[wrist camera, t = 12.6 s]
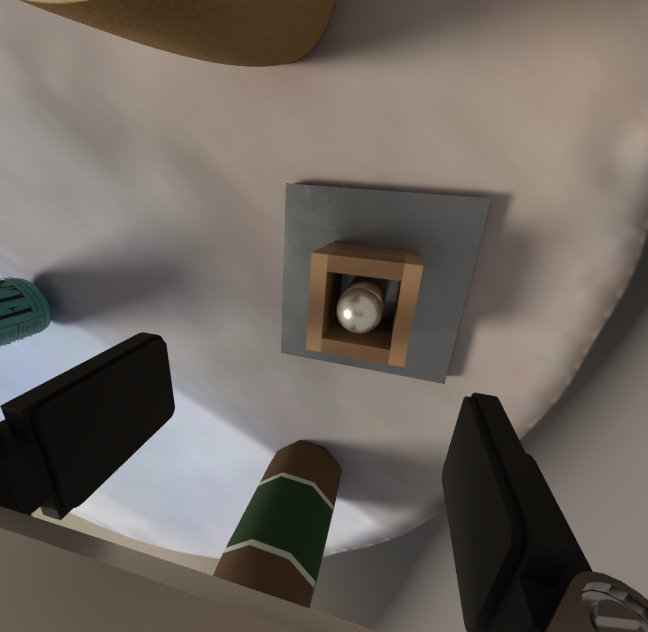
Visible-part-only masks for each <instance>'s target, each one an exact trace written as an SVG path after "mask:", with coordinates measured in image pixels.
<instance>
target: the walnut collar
mask: <svg viewBox="0 0 648 632" xmlns="http://www.w3.org/2000/svg"><path fill="white" fill-rule="evenodd" d="M422 271H423V263H422V259H421V256H420V252H419V251H409V250H400V249H390V248H381V247H372V246H362V245H353V244H344V243H334V242H331V243H329V244H328V245H326V246H324V247H322V248H320V249H318V250H316V251H314V252H312V253H311V271H310V288H309V306H308V323H307V341H306V349H307V350H312V351H318V352H323V353H329V354H334V355H339V356H345V357H350V358H356V359H361V360H367V361H372V362H378V363H383V364H389V365H394V366H400V367H404V365H405V360H406V355H407V349H408V344H409V339H410V334H411V328H412V323H413V318H414V313H415V307H416V302H417V297H418V292H419V286H420V281H421V276H422ZM342 274H350V275H358V276H366V277H374V278H382V279H389V280H397V281H400V283H399V289H398V295H397V301H396V307H395V313H394V320H392V319H386V318H381V320H380V322H379V324H378V325H377V326H376V327H375V328H374V329H373V330H371V331H369V332H366V333H353V332H350V331H348V330H347V329H345V328H344V327H343V326H342V325H341V323H340V322H339V320H338V317H337V304H338V301H339V299H340V290H341V280H342Z"/></svg>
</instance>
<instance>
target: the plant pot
mask: <svg viewBox="0 0 648 632" xmlns="http://www.w3.org/2000/svg"><path fill="white" fill-rule="evenodd" d="M20 1H23V2H26V3H28V4H31V5H33V6H36V7H38V8H41V9H43V10H46V11H48V12H51V13H54V14H57V15H60V16H63V17H65V18H68V19H71V20H74V21H77V22H79V23H82V24H85V25H88V26H91V27H94V28H96V29H99V30H102V31H105V32H108V33H111V34H114V35H117V36H120V37H122V38H125V39H128V40H131V41H134V42H137V43H140V44H143V45H146V46H150V47H153V48H156V49H160V50H164V51H167V52H171V53H174V54H178V55H182V56H186V57H191V58H195V59H199V60H204V61H209V62H214V63H220V64H227V65H236V66H250V67H265V66H276V65H282V64H287V63H291V62H294V61H296V60H298V59H300V58H301V57H303V56H304V55H306V54H307V53H308V52H309V51H310V50H311V49H312V48H313V47H314V46H315V45H316V44H317V43H318V41H319V40H320V38H321V37H322V35H323V33H324V32H325V30H326V27H327V25H328V23H329V21H330V17H331V14H332V11H333V8H334V5H335V1H336V0H20Z"/></svg>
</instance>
